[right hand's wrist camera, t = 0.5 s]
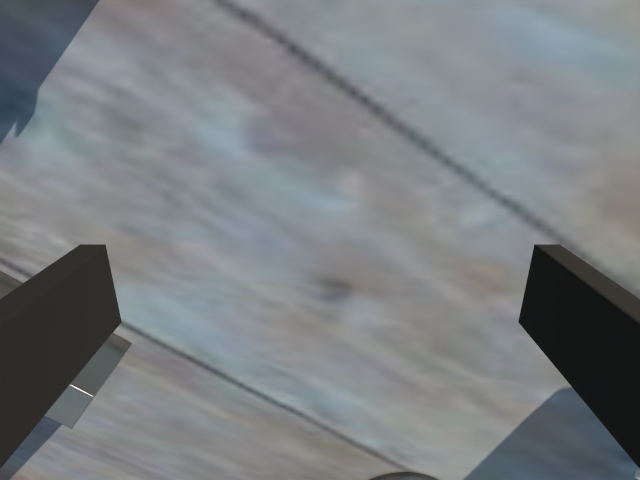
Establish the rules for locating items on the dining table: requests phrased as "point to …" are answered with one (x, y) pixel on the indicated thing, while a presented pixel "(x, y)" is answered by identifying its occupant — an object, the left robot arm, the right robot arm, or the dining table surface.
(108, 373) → the bar
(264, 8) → the dining table surface
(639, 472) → the white plastic object
